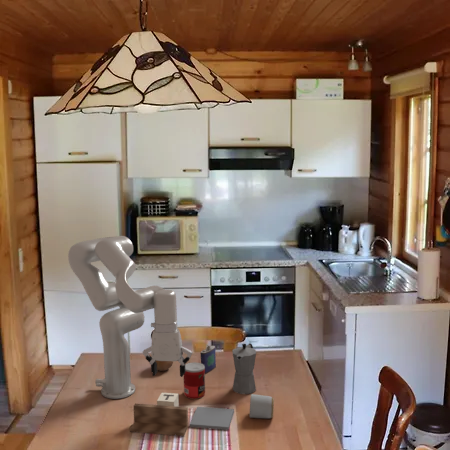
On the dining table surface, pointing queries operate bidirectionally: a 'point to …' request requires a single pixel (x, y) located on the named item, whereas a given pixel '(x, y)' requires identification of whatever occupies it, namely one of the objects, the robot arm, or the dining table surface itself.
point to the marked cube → (168, 399)
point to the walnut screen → (160, 419)
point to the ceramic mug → (261, 406)
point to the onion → (164, 365)
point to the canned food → (194, 380)
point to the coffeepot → (244, 369)
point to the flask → (208, 358)
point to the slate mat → (212, 418)
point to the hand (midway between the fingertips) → (168, 374)
